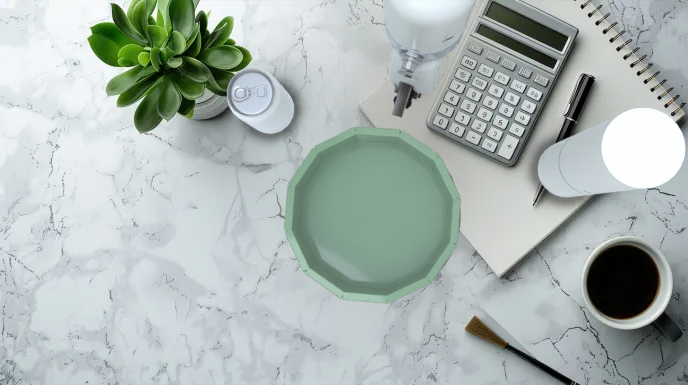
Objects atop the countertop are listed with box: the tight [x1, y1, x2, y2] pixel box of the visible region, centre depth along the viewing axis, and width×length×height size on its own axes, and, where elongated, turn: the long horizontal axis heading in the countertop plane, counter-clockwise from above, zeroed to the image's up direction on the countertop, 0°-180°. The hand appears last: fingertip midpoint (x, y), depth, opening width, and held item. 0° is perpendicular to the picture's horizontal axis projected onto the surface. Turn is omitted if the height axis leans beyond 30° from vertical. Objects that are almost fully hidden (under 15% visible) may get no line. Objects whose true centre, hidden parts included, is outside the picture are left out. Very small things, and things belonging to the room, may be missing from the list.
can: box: [226, 67, 295, 135], centre depth 77 cm, size 6×6×12 cm
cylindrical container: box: [537, 107, 686, 198], centre depth 67 cm, size 7×7×25 cm
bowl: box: [283, 126, 462, 305], centre depth 54 cm, size 15×15×5 cm
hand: (419, 60), depth 74 cm, fingers closed on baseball, 7 cm apart
